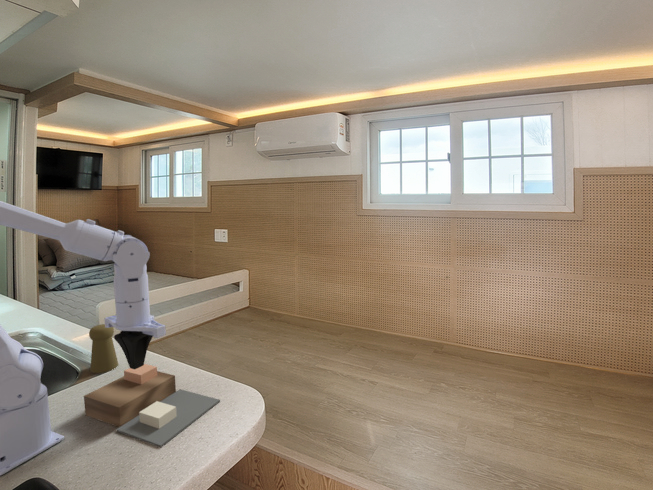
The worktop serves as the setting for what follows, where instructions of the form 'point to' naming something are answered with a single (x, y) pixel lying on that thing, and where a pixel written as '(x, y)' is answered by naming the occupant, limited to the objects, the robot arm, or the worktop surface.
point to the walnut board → (127, 398)
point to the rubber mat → (187, 413)
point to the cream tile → (157, 414)
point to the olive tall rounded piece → (102, 349)
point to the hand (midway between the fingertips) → (137, 366)
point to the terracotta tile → (140, 374)
